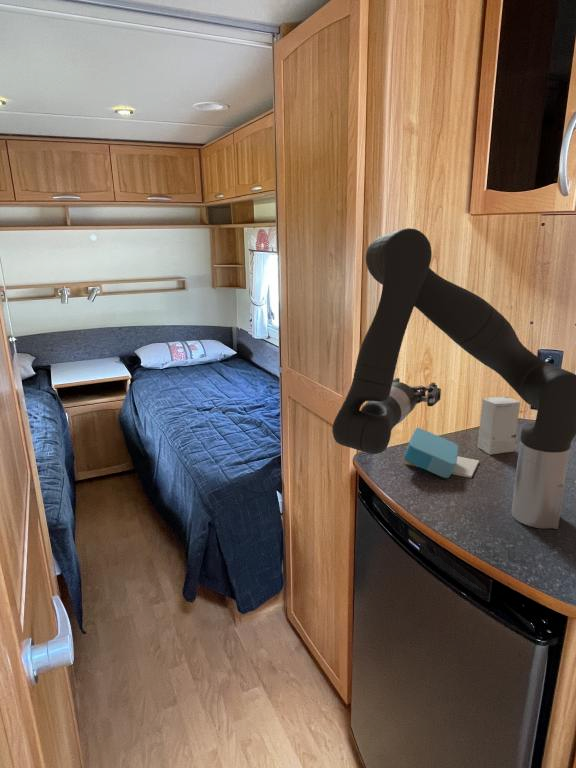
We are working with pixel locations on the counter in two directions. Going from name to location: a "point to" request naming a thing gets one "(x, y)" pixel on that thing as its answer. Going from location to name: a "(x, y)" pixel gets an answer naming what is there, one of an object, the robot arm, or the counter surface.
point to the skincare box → (498, 425)
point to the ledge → (409, 463)
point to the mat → (464, 467)
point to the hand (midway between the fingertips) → (415, 384)
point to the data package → (432, 453)
